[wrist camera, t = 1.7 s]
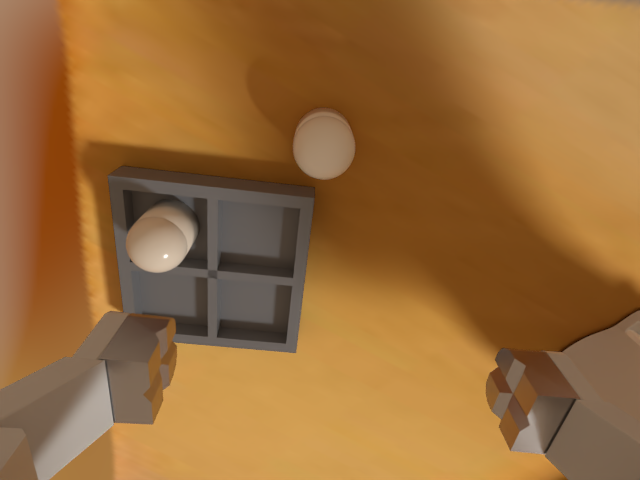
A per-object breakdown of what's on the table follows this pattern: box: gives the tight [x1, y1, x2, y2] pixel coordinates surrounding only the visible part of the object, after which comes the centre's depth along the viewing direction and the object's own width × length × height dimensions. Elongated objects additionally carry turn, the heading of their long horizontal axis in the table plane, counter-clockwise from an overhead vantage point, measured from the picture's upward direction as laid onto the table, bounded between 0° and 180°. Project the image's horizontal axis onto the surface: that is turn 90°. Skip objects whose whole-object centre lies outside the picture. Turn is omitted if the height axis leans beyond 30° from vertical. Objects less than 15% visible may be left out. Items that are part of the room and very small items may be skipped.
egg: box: [293, 107, 355, 180], centre depth 29 cm, size 4×4×6 cm
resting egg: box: [126, 199, 200, 273], centre depth 32 cm, size 4×4×6 cm
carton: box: [108, 166, 315, 353], centre depth 36 cm, size 16×16×2 cm
